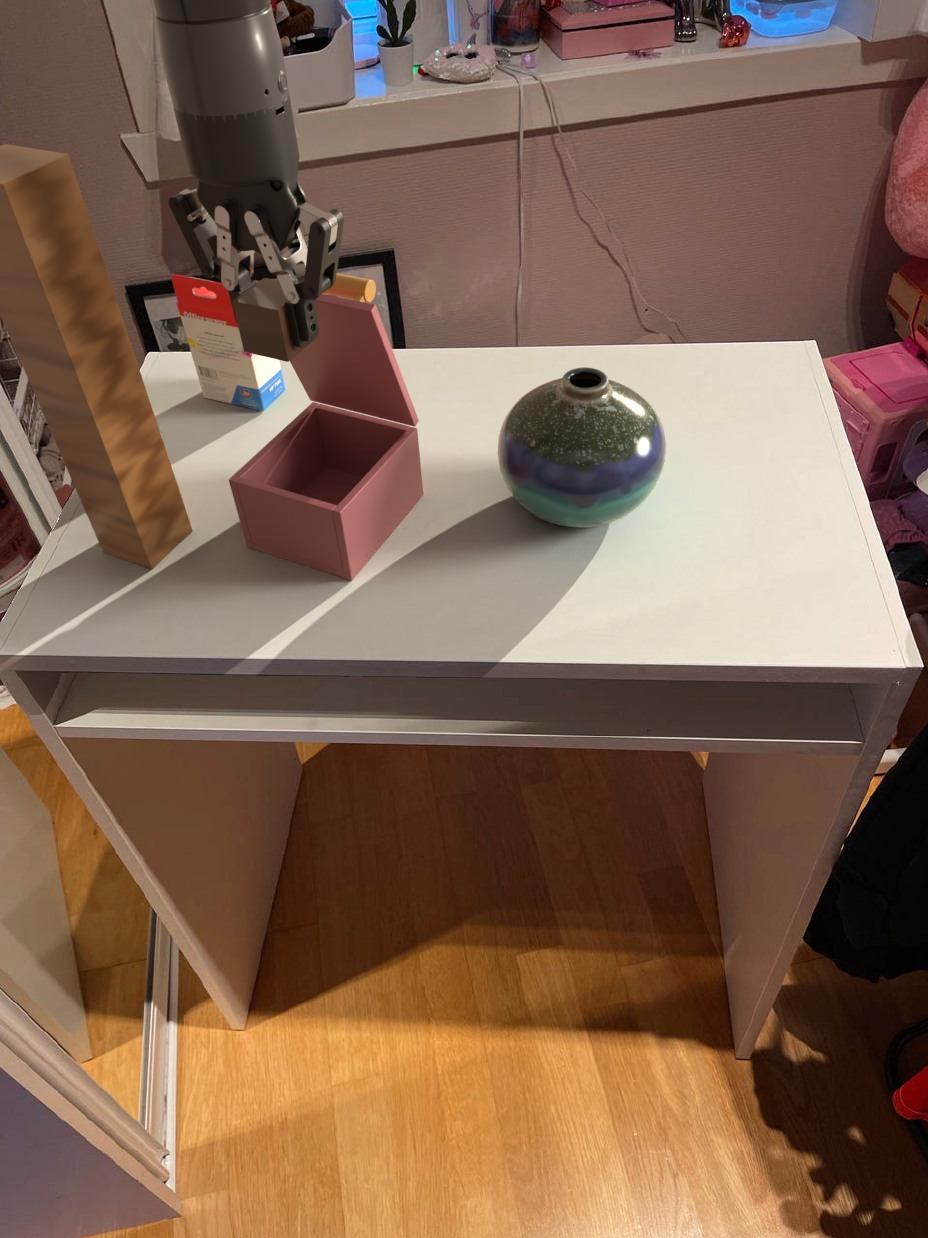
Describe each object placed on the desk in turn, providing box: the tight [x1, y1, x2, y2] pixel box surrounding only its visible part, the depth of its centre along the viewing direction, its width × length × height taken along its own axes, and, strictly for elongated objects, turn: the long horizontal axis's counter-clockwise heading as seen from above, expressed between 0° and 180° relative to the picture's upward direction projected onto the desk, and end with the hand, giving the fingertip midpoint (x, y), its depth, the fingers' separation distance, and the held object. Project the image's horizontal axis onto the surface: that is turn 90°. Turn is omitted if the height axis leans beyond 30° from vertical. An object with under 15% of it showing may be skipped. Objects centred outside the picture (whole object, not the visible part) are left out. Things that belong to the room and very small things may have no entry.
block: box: [232, 277, 318, 363], centre depth 70 cm, size 4×4×4 cm
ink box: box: [171, 273, 286, 412], centre depth 99 cm, size 8×5×15 cm, turn 65°
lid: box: [255, 272, 419, 428], centre depth 80 cm, size 14×12×5 cm
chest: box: [228, 401, 424, 582], centre depth 84 cm, size 14×12×8 cm
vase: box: [497, 366, 667, 528], centre depth 83 cm, size 15×15×13 cm
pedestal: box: [0, 143, 194, 570], centre depth 74 cm, size 6×6×34 cm
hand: (279, 335), depth 70 cm, fingers closed on block, 4 cm apart
